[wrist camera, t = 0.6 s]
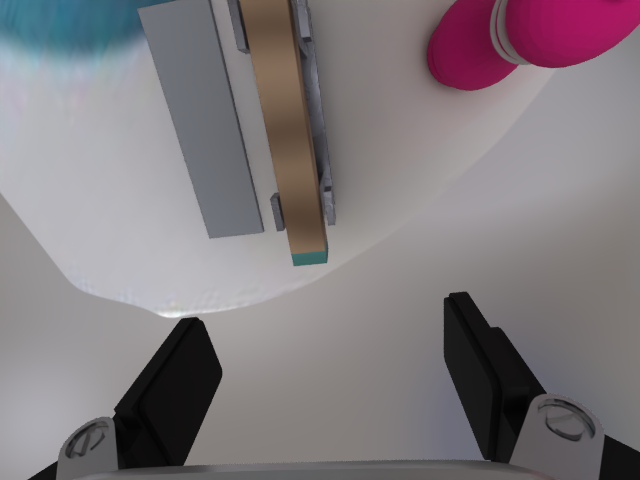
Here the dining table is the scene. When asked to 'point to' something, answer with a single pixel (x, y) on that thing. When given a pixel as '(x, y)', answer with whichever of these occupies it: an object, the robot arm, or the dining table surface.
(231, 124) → the mat
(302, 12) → the bracket
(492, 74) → the pepper mill
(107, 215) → the dining table surface
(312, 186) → the rail
